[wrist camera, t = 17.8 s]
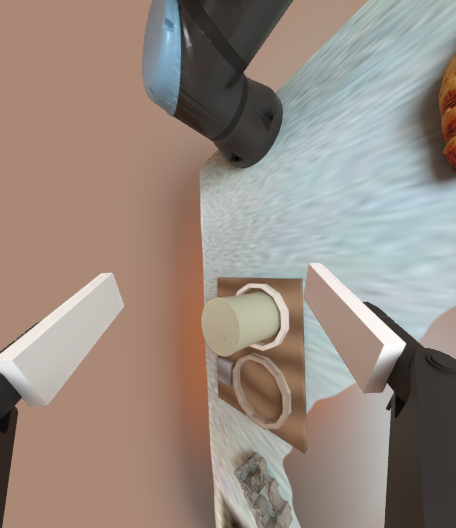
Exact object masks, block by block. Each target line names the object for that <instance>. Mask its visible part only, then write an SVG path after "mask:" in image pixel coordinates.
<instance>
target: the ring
mask: <svg viewBox="0 0 456 528" xmlns="http://www.w3.org/2000/svg"><path fill="white" fill-rule="evenodd" d="M251 288H261V289H263V290H264V291H265V292H267V293H268V294H269V295H271V296H272V297H273V298H274V300H275V302H276V304H277V306H278V308H279V310H280V312H281V330H280V332H279V333H278V335H277V337H276V339H275V341H273V342H271V343H268V344H264V343H261V342H257V343H254V344H252V345H250V347H253V348H256V349H259V350H262V351H264V350H267V349H270V348H272V347H275V346H277V345H279V344H281V343H282V341H283V339H284V337H285V336H286V334H287V332H288V330H289V311H288V308H287V306H286V304H285V302H284V300H283V298H282V297H281V295H280V293H279V292H277V291H276V290H274V289H273V288H272V287H270V286H269V285H267V284H258V283H250V284H247V285H245V286H244V287H243V288H241V289H240V290H238V291H237V293H236V295H244V293H245V292H247V291H248V290H250V289H251Z"/></svg>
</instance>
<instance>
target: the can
mask: <svg viewBox="0 0 456 528" xmlns="http://www.w3.org/2000/svg"><path fill="white" fill-rule="evenodd" d="M280 322H281V315H280V311H279V308H278V306H277V304H276V302H275V301H274V300H273V298H272V297H270V296H269V295H268V294H266V293H263V292H254V293H251V294H244V295H236V296H228V297H215V298H212V299H211V300H209V301H208V302H207V303H206V305H205V306H204V309H203V312H202V318H201V326H202V332H203V335H204V338H205V341H206V343H207V344H208V346H209V347H210V349H211V350H212V351H213V352H214V353H216V354H217V355H220V356H223V357H226V356H230V355H232V354H233V353H235V352H237V351H239V350H241V349H243V348H246V347H248V346H250V345H252V344H254V343H257V342H259V341H261V340H264V339H267V338H270V337H272V336H274V335H275V334H276V333H277V331H278V329H279V327H280Z"/></svg>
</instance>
